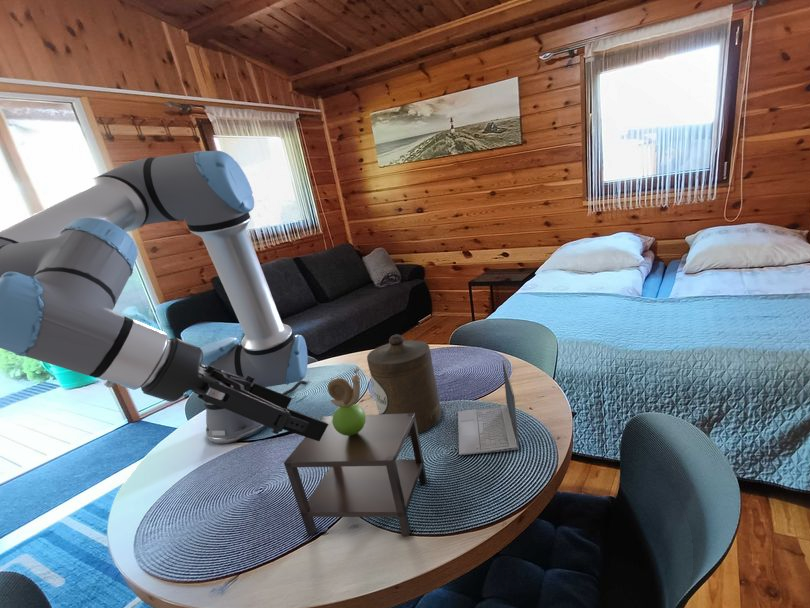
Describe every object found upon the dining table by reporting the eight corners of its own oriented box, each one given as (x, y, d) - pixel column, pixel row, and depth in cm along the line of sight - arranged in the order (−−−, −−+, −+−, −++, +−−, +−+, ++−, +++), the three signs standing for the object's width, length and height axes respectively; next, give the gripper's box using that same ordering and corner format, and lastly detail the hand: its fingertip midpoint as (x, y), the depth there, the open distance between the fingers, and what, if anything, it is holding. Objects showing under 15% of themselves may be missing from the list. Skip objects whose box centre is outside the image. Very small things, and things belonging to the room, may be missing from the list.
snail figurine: (366, 442, 71) (350, 376, 66) (330, 441, 72) (312, 377, 68) (378, 424, 76) (364, 362, 71) (345, 424, 77) (329, 363, 73)
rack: (340, 481, 86) (322, 416, 81) (427, 480, 84) (414, 412, 78) (307, 535, 74) (283, 462, 68) (409, 536, 71) (392, 460, 65)
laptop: (458, 413, 106) (451, 365, 101) (508, 407, 106) (504, 358, 101) (459, 457, 89) (451, 402, 84) (519, 450, 89) (514, 394, 84)
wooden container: (385, 408, 113) (368, 329, 105) (441, 401, 113) (429, 321, 105) (377, 439, 99) (357, 351, 91) (441, 431, 99) (426, 343, 91)
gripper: (126, 367, 61) (264, 415, 75) (154, 423, 43) (327, 471, 58) (155, 321, 62) (285, 376, 77) (194, 356, 44) (354, 420, 59)
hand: (304, 417), depth 67 cm, fingers open, 13 cm apart
